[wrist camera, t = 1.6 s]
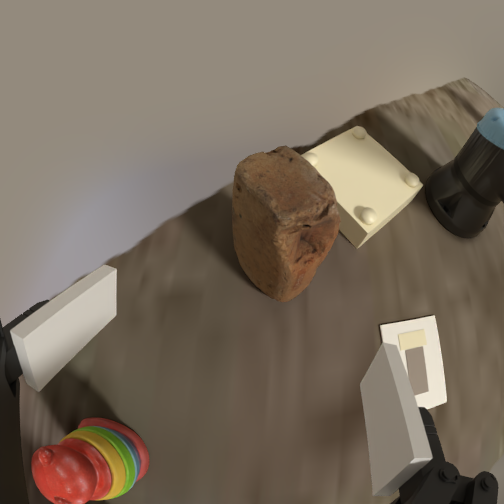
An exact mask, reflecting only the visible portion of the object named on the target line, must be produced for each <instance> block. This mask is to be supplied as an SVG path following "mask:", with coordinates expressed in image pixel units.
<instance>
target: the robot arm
mask: <svg viewBox="0 0 504 504" xmlns="http://www.w3.org/2000/svg"><path fill="white" fill-rule="evenodd" d="M426 197H427V201H428V204H429V206H430V208H431V210H432V212H433V213H434V215H435V216H436V218H437V219H438V220H439V222H440V223H441V224H442V225H443V226H444V227H445V228H447V229H448V230H449V231H450V232H452V233H453V234H455V235H457V236H460V237H463V238H473V237H475V236H477V235H478V234H479V233H480V232H482V231H483V230H484V229H485V227H486V226H487V224H488V221H489V220H490V218H491V216H492V214H493V211H494V209H495V207H496V206H497V205H498V204H499V203H500V202H501V201H502V202H503V203H504V109H502V108H492V109H490V110H489V111H488V112H487V113H486V115H485V116H484V117H483V119H482V120H481V121H479V122H478V124H477V127H476V129H475V130H474V132H473V133H472V135H471V136H470V138H469V139H468V141H467V142H466V143H465V145H464V146H463V148H462V149H461V150H460V152H459V153H458V155H457V156H456V157H455V159H454V160H452V161H450V162H449V163H447V164H446V165H444V166H443V167H440V168H438V169H436V170H435V171H434V172H433V173H432V175H431V176H430V177H429V179H428V180H427V183H426ZM116 273H117V269H116V268H113V267H110V266H107V265H103V266H101V267H100V268H98V269H97V270H95V271H94V272H92V273H91V274H89V275H88V276H86V277H85V278H83V279H82V280H80V281H79V282H77V283H76V284H74V285H73V286H71V287H70V288H68V289H67V290H65V291H64V292H63V293H61V294H60V295H58V296H57V297H55V298H54V299H52V300H51V301H49V300H45V301H42V302H39V303H37V304H35V305H34V306H32V307H31V308H30V309H29V310H27V311H25V312H24V313H23V315H22V314H21V315H20V316H18V317H17V318H15V319H14V320H13V321H11V322H10V323H8V324H7V325H6V326H4V327H3V328H2V324H1V320H0V504H29V501H28V495H27V490H26V483H25V477H24V469H23V461H22V450H21V437H20V411H19V395H20V382H19V378H18V377H19V376H21V375H22V374H23V375H24V378H25V381H26V384H28V385H29V386H31V387H32V388H34V389H35V390H37V391H38V392H40V391H41V389H42V388H43V387H44V386H45V385H46V384H47V383H48V382H49V381H50V380H51V379H52V378H53V377H54V376H55V375H56V374H57V373H58V372H59V371H60V370H61V369H62V368H63V367H64V366H65V365H66V364H67V363H68V362H69V361H70V360H71V359H72V358H73V357H74V356H75V355H76V354H77V353H78V352H79V351H80V350H81V349H82V348H83V347H84V346H85V345H86V344H87V343H88V342H89V341H90V340H91V339H92V338H93V337H94V336H95V335H96V334H97V333H98V332H99V331H100V330H101V329H102V328H103V327H104V326H105V325H106V324H108V323H109V322H110V321H111V320H112V319H113V318H114V317H115V316H116ZM360 388H361V395H362V401H363V408H364V415H365V423H366V430H367V439H368V447H369V457H370V467H371V478H372V490H373V496H391V495H392V494H393V493H394V492H395V491H397V490H398V489H399V493H400V496H399V497H398V498H397V499H395V500H394V501H393V502H391V503H390V504H497V496H498V482H497V480H496V478H495V477H494V475H493V474H491V473H489V472H485V471H484V472H481V473H479V474H478V475H477V476H476V477H475V478H469V477H465V476H461V475H460V473H459V471H458V469H457V468H456V467H455V466H454V465H453V464H451V463H449V462H446V461H445V458H444V454H443V451H442V447H441V444H440V441H439V437H438V435H437V431H436V428H435V427H434V426H435V425H434V422H433V419H432V416H431V415H430V413H429V412H428V411H427V409H426V408H425V407H418V405H417V402H416V399H415V396H414V393H413V390H412V387H411V384H410V381H409V378H408V375H407V372H406V370H405V367H404V364H403V361H402V359H401V356H400V353H399V351H398V348H397V345H394V344H389V343H384V342H383V343H382V345H381V346H380V348H379V350H378V352H377V354H376V356H375V358H374V360H373V362H372V364H371V365H370V367H369V369H368V371H367V373H366V374H365V376H364V378H363V380H362V381H361V383H360Z"/></svg>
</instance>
